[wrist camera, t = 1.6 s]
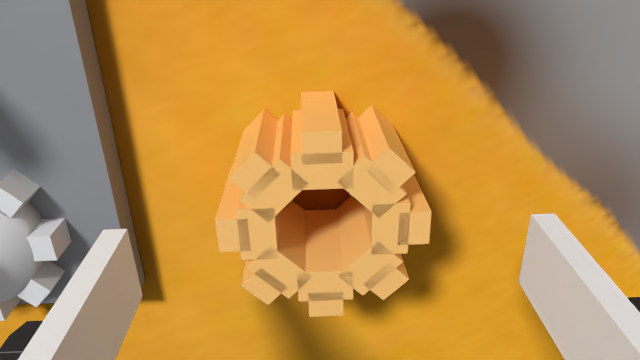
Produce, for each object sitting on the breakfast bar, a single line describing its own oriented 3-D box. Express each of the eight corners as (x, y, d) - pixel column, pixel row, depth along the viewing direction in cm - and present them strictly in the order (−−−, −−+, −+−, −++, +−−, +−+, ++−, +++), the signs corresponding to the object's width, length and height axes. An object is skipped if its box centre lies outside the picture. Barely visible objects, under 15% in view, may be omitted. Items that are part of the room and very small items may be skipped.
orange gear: (402, 245, 25) (423, 311, 21) (241, 251, 25) (228, 320, 21) (410, 88, 22) (438, 127, 17) (224, 94, 22) (203, 135, 17)
